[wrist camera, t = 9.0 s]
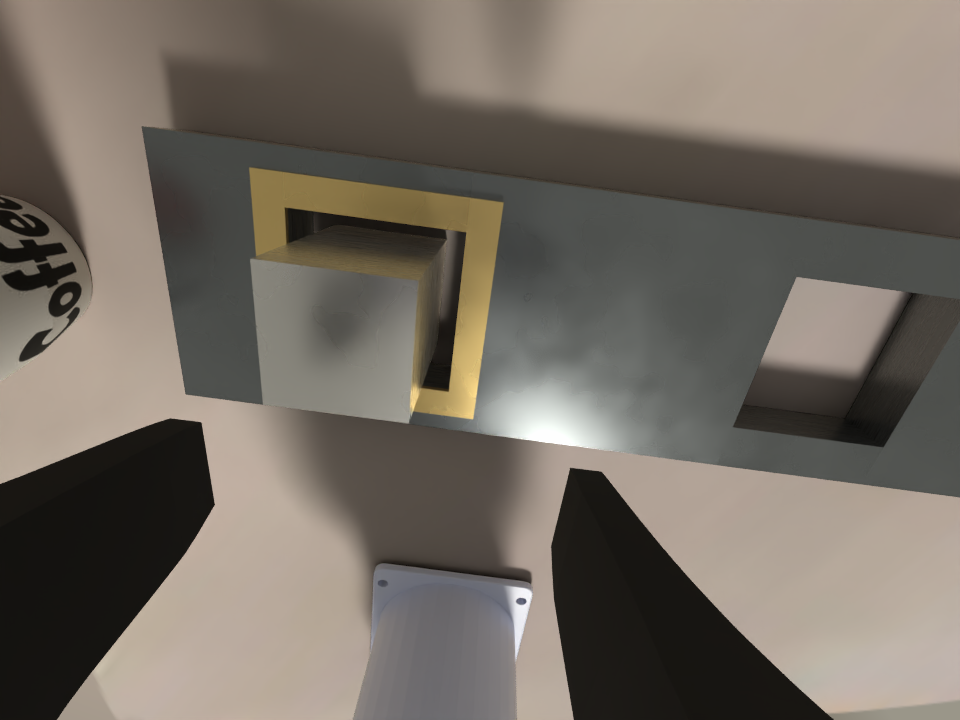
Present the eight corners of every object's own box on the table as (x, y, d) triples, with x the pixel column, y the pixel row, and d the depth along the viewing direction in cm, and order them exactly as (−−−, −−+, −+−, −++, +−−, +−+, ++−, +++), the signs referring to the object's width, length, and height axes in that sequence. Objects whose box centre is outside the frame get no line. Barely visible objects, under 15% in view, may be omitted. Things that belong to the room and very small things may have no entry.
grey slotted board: (924, 465, 19) (974, 502, 17) (216, 371, 19) (181, 396, 17) (1065, 252, 15) (1150, 267, 13) (185, 130, 15) (136, 126, 13)
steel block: (437, 342, 18) (408, 423, 12) (337, 328, 18) (262, 404, 12) (447, 239, 16) (418, 280, 11) (336, 224, 16) (250, 258, 11)
